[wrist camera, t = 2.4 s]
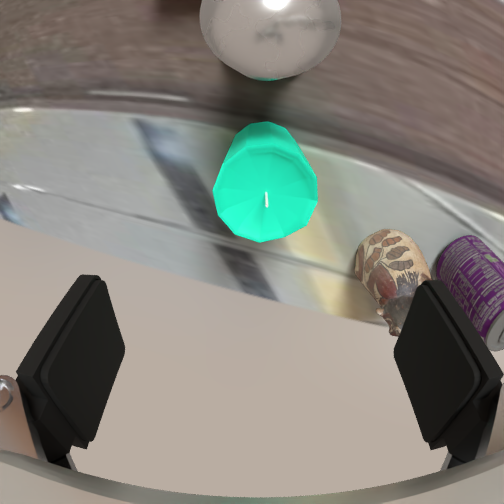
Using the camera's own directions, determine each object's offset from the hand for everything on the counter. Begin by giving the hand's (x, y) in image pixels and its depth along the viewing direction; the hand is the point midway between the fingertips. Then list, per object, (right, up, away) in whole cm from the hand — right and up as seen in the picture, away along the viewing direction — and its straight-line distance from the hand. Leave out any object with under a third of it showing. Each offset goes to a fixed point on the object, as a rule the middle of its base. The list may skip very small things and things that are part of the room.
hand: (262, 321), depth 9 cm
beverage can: (+24, +1, +23) cm, 33 cm away
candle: (+1, +10, +18) cm, 21 cm away
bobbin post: (+1, +19, +13) cm, 23 cm away
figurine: (+14, +1, +23) cm, 27 cm away
